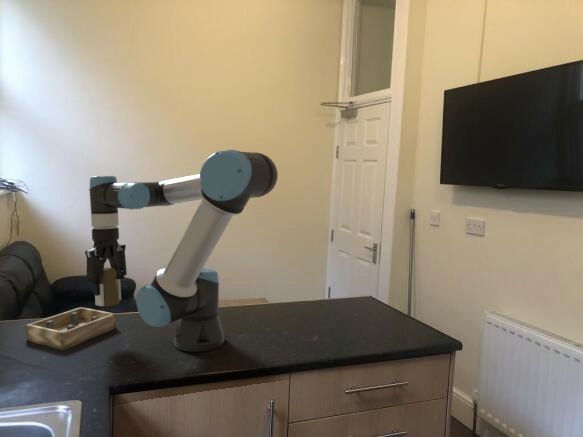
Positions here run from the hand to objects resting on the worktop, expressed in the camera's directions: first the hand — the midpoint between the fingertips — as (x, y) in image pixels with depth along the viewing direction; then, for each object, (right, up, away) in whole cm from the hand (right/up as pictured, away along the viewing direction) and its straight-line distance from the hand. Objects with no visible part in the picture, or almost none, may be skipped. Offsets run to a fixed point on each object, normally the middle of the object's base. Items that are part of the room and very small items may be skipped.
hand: (108, 302), depth 135 cm
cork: (0, -1, 0) cm, 1 cm away
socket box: (-14, -11, +6) cm, 19 cm away
